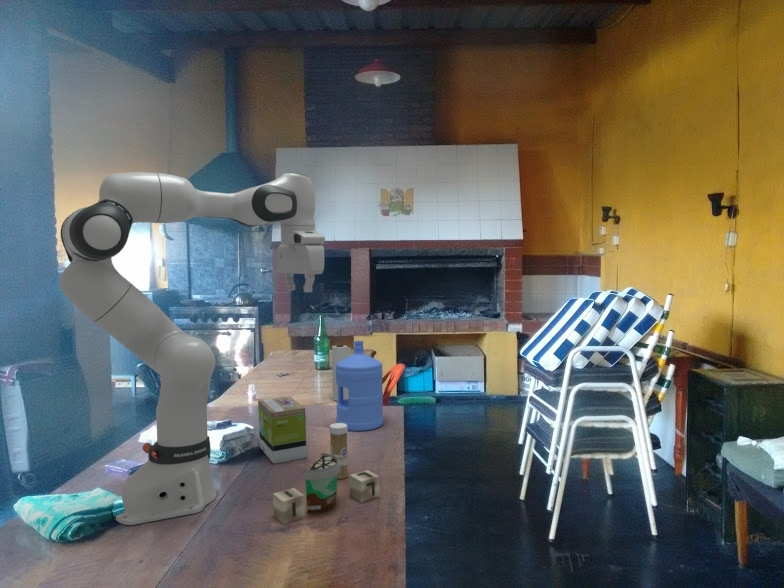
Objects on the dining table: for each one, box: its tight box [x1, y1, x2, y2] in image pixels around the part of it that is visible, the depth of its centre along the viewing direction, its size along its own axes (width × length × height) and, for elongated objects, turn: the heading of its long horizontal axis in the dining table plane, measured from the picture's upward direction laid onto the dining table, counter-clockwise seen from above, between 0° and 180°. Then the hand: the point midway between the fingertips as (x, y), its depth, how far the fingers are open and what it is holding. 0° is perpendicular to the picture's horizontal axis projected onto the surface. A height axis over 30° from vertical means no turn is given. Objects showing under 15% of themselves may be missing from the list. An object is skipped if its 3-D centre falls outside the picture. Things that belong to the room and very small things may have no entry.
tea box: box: [257, 395, 308, 465], centre depth 166 cm, size 15×10×15 cm, turn 27°
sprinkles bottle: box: [329, 422, 349, 480], centre depth 148 cm, size 5×5×14 cm
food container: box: [303, 452, 341, 514], centre depth 131 cm, size 12×6×10 cm, turn 168°
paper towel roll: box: [331, 344, 352, 402], centre depth 226 cm, size 7×6×21 cm
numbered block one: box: [272, 487, 306, 525], centre depth 126 cm, size 5×5×5 cm
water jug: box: [335, 340, 384, 432], centre depth 193 cm, size 16×16×28 cm
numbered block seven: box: [349, 469, 380, 503], centre depth 136 cm, size 5×5×5 cm
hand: (299, 291), depth 150 cm, fingers open, 8 cm apart
